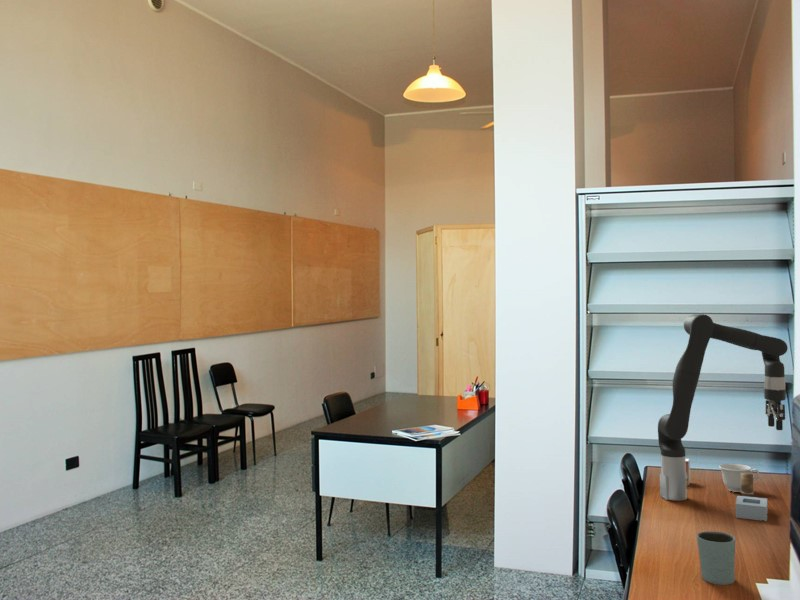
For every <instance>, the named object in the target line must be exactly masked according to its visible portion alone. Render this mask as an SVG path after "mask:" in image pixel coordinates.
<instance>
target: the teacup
mask: <svg viewBox="0 0 800 600" xmlns="http://www.w3.org/2000/svg"><path fill="white" fill-rule="evenodd" d="M718 467H719V469H720V470H721V474H722V480H723V485H724V486H725V487H726V488H728V490H729V491H728V492H730V491H732V492H731V493H734V492H741V473H752V474H753V473H754V472H756V476H755V477H753V481H756V480H758V479H759V478H760V471H759V470H758V469H757V468H753V469H752V467H750V466H749V465H745V464H739V463H722V464H720V465H719V466H718Z"/></svg>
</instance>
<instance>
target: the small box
mask: <svg viewBox="0 0 800 600" xmlns="http://www.w3.org/2000/svg"><path fill="white" fill-rule="evenodd" d="M685 459H686V486H688V485H689V486H690V484H691V469H690V467H691V465H690V463H691V462H690V461H691V459H690V458H685Z"/></svg>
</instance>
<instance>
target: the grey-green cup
mask: <svg viewBox="0 0 800 600" xmlns="http://www.w3.org/2000/svg"><path fill="white" fill-rule="evenodd" d="M696 541H697V546H698V555H699V557H698V558H699V565H700V573H701V574H700V575H701V578H702V580H704V581H705V582H708V583H710V584H713V585H720V586H721V585H722V586H724V585H725V586H726V585H732V584H734V583H735V579H736V577H735V575H736V574H735V566H736V565H735V564H736V562H735V559H736V558H735V557H736V537H735V536H734V535H732V534H730V533H726V532H723V531H712V530H710V531H709V530H708V531H701V532H698V533H697V534H696Z"/></svg>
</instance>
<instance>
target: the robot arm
mask: <svg viewBox="0 0 800 600" xmlns="http://www.w3.org/2000/svg"><path fill="white" fill-rule="evenodd" d="M683 329H684V331H685V332H686V333H687V335H689V338H688V341H687V345H686V349H685V350H684V352H682V353H683V354H682V355H681V357H680V358H679V360H678V362H677V364H676V367H675V370H674V374H673V378H672V396H673V398H672V404H671V405H672V407H671V410H670V413H667V414H666V413H665V414H664V415H662V416H661V417H660V418H659V420H658V423H657V437H658V439H657V440H658V446H659V450H660V463H661V465H660V466H661V467H660V468H661V472H659V496H660V497H661V498H663V499H664V500H665V501H677V502H679V501H680V502H681V501H685V500H687V499H688V497H687V495H688V493H687V492H688V491H687V485H686V459H687V458H686V449H685V447H684V444H683V443H682V439H683V438H684V437H685V436H686V435H687V433H688V429H689V423H690V417H691V416H690V415H691V412H692V411H691V410H692V405H693V401H694V399H695V398H694V397H695V393H696V390H697V387H698V383H699V379H700V375H701V371H702V367H703V362H704V358H705V353H706V350H707V347H708V345H709V342H710V340H711V339H713V340H718V341H722V342H725V343H728V344H731V345H735V346H737V347H740V348H744V349H748V350H752V351H759V352H761V356H762V361H763V364H764V381H763V386H764V389H763V390H764V392H763V394H764V395H763V396H764V399H765V415H766V417H767V425H768V427H775V429H776V431H783V430H784V429H783V428H784V427H783V425H784V424H783V423H784V422H783V421H786V406H785V404H782V401H785V400H786V396H787V395H786V377H785V365H784V363H783V362H782V361H781V359H780V357H781V356H783V355H785V354H786V353H787V351H788V344H787V343H786V341H785V340H783V339H781V338H778V337H773V336H769V335H764V334H760V333H758V332H755V331H750V330H747V329H742V328H739V327H734V326H727V325H722V324H720V323H716V322H714V321H713V319H712V318H711V317H710V316H709V315H707V314H702V313H701V314H698V313H697V314H691V315H689V316H688V317H686V318H685V320H684V321H683Z"/></svg>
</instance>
